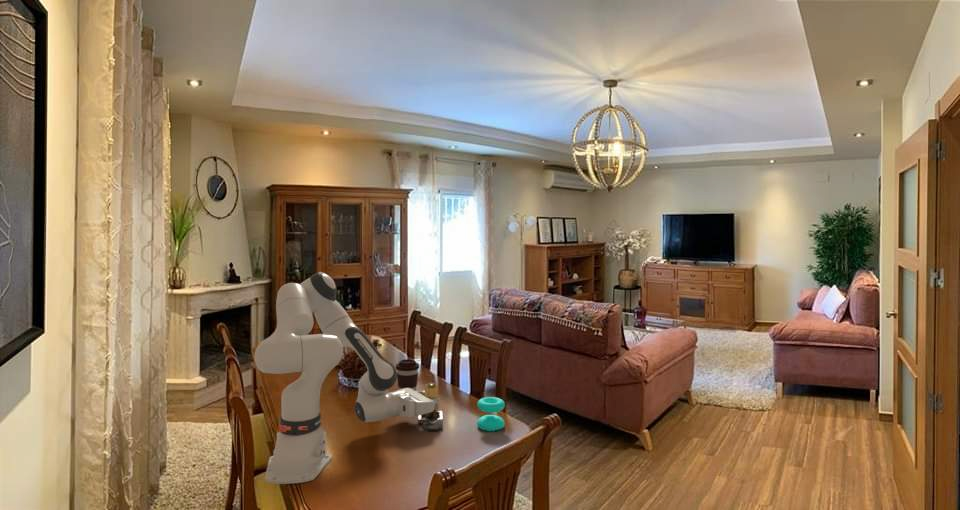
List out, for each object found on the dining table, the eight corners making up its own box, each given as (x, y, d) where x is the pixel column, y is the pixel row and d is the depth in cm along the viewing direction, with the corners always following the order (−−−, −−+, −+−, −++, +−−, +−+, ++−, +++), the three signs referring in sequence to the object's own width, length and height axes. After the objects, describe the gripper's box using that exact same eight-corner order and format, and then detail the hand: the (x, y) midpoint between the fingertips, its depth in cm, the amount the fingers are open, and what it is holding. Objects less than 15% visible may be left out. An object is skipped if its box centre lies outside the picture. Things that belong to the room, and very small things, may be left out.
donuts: (472, 401, 188) (486, 394, 197) (472, 428, 189) (485, 420, 197) (496, 406, 183) (509, 398, 192) (496, 434, 184) (509, 425, 192)
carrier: (443, 431, 186) (443, 424, 186) (423, 431, 185) (423, 425, 185) (442, 419, 197) (442, 412, 197) (423, 419, 197) (423, 413, 197)
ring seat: (442, 423, 194) (442, 419, 194) (418, 423, 193) (418, 419, 193) (442, 414, 203) (442, 410, 203) (418, 414, 202) (418, 411, 202)
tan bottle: (438, 418, 197) (438, 387, 194) (424, 418, 196) (424, 388, 194) (437, 411, 202) (437, 381, 199) (424, 412, 201) (424, 381, 198)
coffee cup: (421, 392, 230) (421, 358, 229) (416, 399, 220) (416, 364, 219) (399, 391, 231) (399, 357, 230) (393, 398, 221) (393, 363, 220)
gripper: (387, 403, 199) (419, 397, 207) (412, 420, 182) (446, 412, 190) (387, 387, 198) (419, 381, 206) (412, 402, 182) (446, 395, 190)
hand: (432, 396), depth 198 cm, fingers open, 8 cm apart
